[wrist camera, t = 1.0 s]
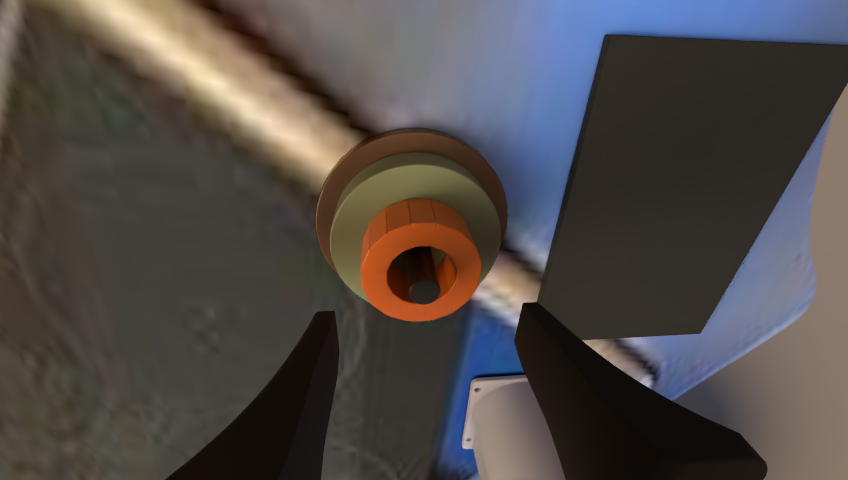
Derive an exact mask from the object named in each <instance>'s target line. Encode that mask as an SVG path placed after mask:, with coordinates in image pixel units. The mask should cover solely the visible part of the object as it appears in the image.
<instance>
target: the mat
mask: <svg viewBox="0 0 848 480" xmlns="http://www.w3.org/2000/svg"><path fill="white" fill-rule="evenodd" d="M847 83H848V45H829V44H807V43H785V42H762V41H740V40H718V39H696V38H674V37H652V36H629V35H605V38H604V42H603V46H602V50H601V54H600V58H599V61H598V65H597V69H596V73H595V77H594V81H593V85H592V89H591V93H590V97H589V101H588V105H587V109H586V112H585V116H584V120H583V124H582V128H581V132H580V136H579V140H578V144H577V148H576V152H575V156H574V160H573V163H572V167H571V171H570V175H569V179H568V183H567V187H566V191H565V195H564V199H563V203H562V207H561V211H560V214H559V218H558V222H557V226H556V230H555V234H554V238H553V242H552V246H551V250H550V254H549V258H548V262H547V265H546V269H545V273H544V277H543V281H542V285H541V289H540V293H539V297H538V301H537V302H538V303H539V304H541V305H542V306H543V307H544V308H545V309H546V310H547V311H549V312H550V313H551V314H552V315H553V316H554V317H555V318H556V319H558V320H559V321H560V322H561V323H562V324H563V325H564V326H565V327H567V328H568V329H569V330H570V331H571V332H572V333H573V334H575V335H576V336H577V337H578V338H579V339H581V340H592V339H610V338H629V337H647V336H665V335H684V334H700V333H701V332H702V330H703V328H704V327H705V325H706V323H707V321H708V320H709V318H710V316H711V315H712V313H713V311H714V310H715V308H716V306H717V304H718V303H719V301H720V299H721V298H722V296H723V294H724V292H725V291H726V289H727V287H728V286H729V284H730V282H731V281H732V279H733V277H734V275H735V274H736V272H737V270H738V269H739V267H740V265H741V264H742V262H743V260H744V258H745V257H746V255H747V253H748V252H749V250H750V248H751V247H752V245H753V243H754V241H755V240H756V238H757V236H758V235H759V233H760V231H761V230H762V228H763V226H764V224H765V223H766V221H767V219H768V218H769V216H770V214H771V213H772V211H773V209H774V207H775V206H776V204H777V202H778V201H779V199H780V197H781V196H782V194H783V192H784V190H785V189H786V187H787V185H788V184H789V182H790V180H791V178H792V177H793V175H794V173H795V172H796V170H797V168H798V167H799V165H800V163H801V161H802V160H803V158H804V156H805V155H806V153H807V151H808V150H809V148H810V146H811V144H812V143H813V141H814V139H815V138H816V136H817V134H818V133H819V131H820V129H821V127H822V126H823V124H824V122H825V121H826V119H827V117H828V116H829V114H830V112H831V110H832V109H833V107H834V105H835V104H836V102H837V100H838V98H839V97H840V95H841V93H842V92H843V90H844V88H845V86H846V85H847Z"/></svg>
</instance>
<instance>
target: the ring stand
mask: <svg viewBox="0 0 848 480" xmlns="http://www.w3.org/2000/svg"><path fill="white" fill-rule="evenodd" d="M408 199H430V200H431V199H432V200H435V201H437V202H440V203H442V204H445V205H448V206H449V207H451V208H453V209H454V210H455V211H456V212H457V213H458V214H459V215H460V216H461V217H462V218H463V219H464V221H465V223H466V225H467V227H468V229H469V232H470V234H471V236H472V238H473V241H474V243H475V245H476V248H477V250H478V253H479V256H480V259H481V262H482V269H481V276H480V282H479V284H480V283H481V281H482V280H483V279H484V278H485V277H486V275H487V274H488V273H489V271H490V269H491V268H492V266H493V264H494V262H495V259H496V257H497V254H498V250H499V248H500V246H501V244H502V241H503V239H504V235H505V231H506V226H507V217H508V214H507V202H506V197H505V193H504V190H503V187H502V184H501V182H500V180H499V178H498V176H497V174H496V173H495V171H494V170H493V169H492V167H491V166H490V164H489V163H488V162H487V161H486V159H485V158H484V157H483V156H482V155H481V154H480V153H479V152H478V151H476V150H475V149H474V148H472V147H471V146H470V145H468V144H467V143H465V142H463V141H461V140H460V139H458V138H456V137H454V136H451V135H448V134H445V133H443V132H438V131H434V130H429V129H416V128H414V129H400V130H395V131H389V132H386V133H383V134H380V135H377V136H374V137H372V138H370V139H368V140H366V141H364V142H362V143H360V144H359V145H357V146H356V147H354V148H353V149H351V150H350V151H349V152H348V153H347V154H346V155H345V156H343V157H342V158H341V159H340V160H339V162H338V163H337V164H336V165H335V166H334V168H333V169H332V170H331V172H330V174H329V175H328V177H327V179H326V181H325V183H324V185H323V188H322V190H321V193H320V195H319V199H318V203H317V207H316V218H315V221H316V232H317V237H318V242H319V244H320V247H321V250H322V252H323V254H324V256H325V258H326V260H327V261H328V263H329V264H330V266H331V267H332V268H333V270H334V271H335V272H336V273H337V274H338V275H339V276H340V277H341V278H342V280H343V281H344V282H345V284H346V285H347V286H348V287H349V288H350V289H351V290H352V291H353V292H355V293H356V294H357V295H358V296H360V297H361V298H363V299H364V300H366V301H368V302H370V301H369V299H368V297H367V296H366V294H365V292H364V291H363V289H362V286H361V271H360V268H361V256H362V245H363V238H364V236H365V233H366V231H367V229H368V226H369V224H370V223H371V221H372V220H373V219H374V218H375V217H376V216H377V215H378V214H379V213H380V212H382V211H383V210H384V209H385V208H387V207H388V206H391V205H393V204H396V203H398V202H401V201H403V200H408ZM445 255H446V253H445V252H444V251H443V250H440V249H437V248H434V247H431V246H418V247H414V248H411V249H408V250H406V251H403V252H402V253H400V254H399V255H398V256H397V257H396V258H395V259H393V260H392V262H391V263H392V264H393V265H395V266H396V267H397V268H398V269H400V270H402V271H405V272H406V273H407V282H408V291H409V296H410V298H411V300H412V301H413V302H415V303H417V304H421V305H426V304H430V303H432V302H434V301H436V300H437V299H438V297H439V295H440V292H441V289H440V284H439V280H438V276H437V272H436V266H437V265H438V264H440V263H441V262H442V260H443V259H444V257H445ZM370 303H371V302H370Z"/></svg>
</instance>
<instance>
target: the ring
mask: <svg viewBox="0 0 848 480" xmlns="http://www.w3.org/2000/svg"><path fill="white" fill-rule="evenodd" d="M418 246H431V247H434V248H437V249H440V250H443V251H444V252H445V253H446V255H445V257H444V259H443V260H442V262H441V263H440V264H438V265H437V266H436V272H437V276H438V280H439V284H440V289H441V292H440V295H439V297H438V299H437V300H436V301H434V302H432V303H430V304H426V305H421V304H417V303H415V302H413V301H412V300H411V298H410V296H409V291H408V282H407V273H406V272H405V271H402V270H400V269H398V268H397V267H396V266H395V265H393V264H392V263H391V262H392V260H393V259H395V258H396V257H397V256H398V255H399V254H400V253H402V252H403V251H406V250H408V249H411V248H414V247H418ZM481 269H482V262H481V259H480V256H479V253H478V250H477V248H476V245H475V243H474V241H473V238H472V236H471V234H470V232H469V229H468V227H467V225H466V223H465V221H464V219H463V218H462V217H461V216H460V215H459V214H458V213H457V212H456V211H455V210H454V209H453V208H451V207H449V206H448V205H445V204H442V203H440V202H437V201H435V200H432V199H431V200H430V199H408V200H403V201H401V202H398V203H396V204H393V205H391V206H388V207H387V208H385V209H384V210H383V211H382V212H380V213H379V214H378V215H377V216H376V217H375V218H374V219H373V220H372V221H371V223H370V224H369V226H368V229H367V231H366V233H365V236H364V238H363V245H362V256H361V268H360V271H361V286H362V289H363V291H364V292H365V294H366V296H367V297H368V299H369V301H370V302H371V304H372V305H373V306H374V307H376V308H377V309H379V310H380V311H382V312H383V313H385V314H386V315H387V316H391V317H394V318H398V319H402V320H405V321H409V320H410V321H430V320H435V319H437V318H440V317H443V316H446V315H449V314H451V313H453V312H454V311H456V310H457V309H458V308H460V307H461V306H462V305H464V304H465V303H466V302H467V301H468V300H470V298H471V296H472V295H473V293H474V292H475V290H476V289H477V287H478V285H479V282H480V276H481Z"/></svg>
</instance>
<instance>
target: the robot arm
mask: <svg viewBox="0 0 848 480" xmlns="http://www.w3.org/2000/svg"><path fill="white" fill-rule="evenodd" d="M514 342H515V345H516V349H517V352H518V356H519V359H520V362H521V365H522V368H523V370H524V372H525V375H513V376H498V377H482V378H475V379H473V380H472V382H471V386H470V393H469V399H468V405H467V412H466V418H465V424H464V431H463V437H462V447H463V448H464V449H473V450H474V454H475V459H476V463H477V468H478V472H479V477H480V480H763V479H764V478H765V476H766V473H767V465H766V462H765V461H764V460H763V459H762V458H761V457H760V456H759V454H758V453H757V452H756V451H755V450H754V449H753V448H752V447H751V446H750V444H748V442H747V441H746V440H745V439H744V438H743V437H742V436H741V434H740V433H737V432H735V431H733V430H731V429H729V428H727V427H724V426H722V425H720V424H718V423H715V422H713V421H711V420H709V419H707V418H704V417H702V416H700V415H698V414H696V413H694V412H692V411H690V410H688V409H686V408H684V407H682V406H680V405H678V404H676V403H675V402H673V401H671V400H669V399H667V398H665V397H664V396H662V395H660V394H658V393H657V392H655V391H653V390H652V389H650V388H648V387H646V386H645V385H643V384H641V383H640V382H638V381H637V380H635V379H634V378H632V377H630V376H629V375H628V374H626V373H625V372H623V371H622V370H620V369H619V368H617V367H616V366H614V365H613V364H611V363H610V362H609V361H607V360H606V359H605V358H603V357H602V356H601V355H599V354H598V353H597V352H596V351H594V350H593V349H592V348H590V347H589V346H588V345H587V344H585V343H584V342H583V341H582V340H581V339H579V338H578V337H577V336H576V335H575V334H573V333H572V332H571V331H570V330H569V329H568V328H567V327H565V326H564V325H563V324H562V323H561V322H560V321H559V320H558V319H556V318H555V317H554V316H553V315H552V314H551V313H550V312H549V311H547V310H546V309H545V308H544V307H543V306H542V305H541V304H539V303H538V302H534V303H523V305H522V310H521V314H520V318H519V323H518V327H517V331H516V336H515V340H514ZM338 362H339V343H338V335H337V326H336V318H335V311H322V312H317V313H316V314H315V315H314V317H313V319H312V321H311V322H310V324H309V326H308V328H307V329H306V331H305V333H304V334H303V336H302V337H301V339H300V341H299V342H298V344H297V345H296V346H295V348H294V349H293V351H292V352H291V354H290V355H289V357H288V358H287V360H286V361H285V362H284V364H283V365H282V366H281V367H280V369H279V370H278V371H277V373H276V374H275V375H274V377H273V378H272V379H271V380H270V382H269V383H268V384H267V385H266V386H265V388H264V389H263V390H262V391H261V392H260V393H259V394H258V396H257V397H256V398H255V399H254V400H253V401H252V402H251V403H250V404H249V405H248V406H247V407H246V408H245V410H244V411H243V412H242V413H241V414H240V415H239V416H238V417H237V418H236V419H235V420H234V421H233V422H232V423H231V424H230V425H229V426H228V427H227V428H226V429H224V430H223V431H222V432H221V433H220V434H219V435H218V436H217V437H216V438H214V439H213V440H212V441H211V442H210V443H209V444H208V445H207V446H206V447H204V448H203V449H202V450H201V451H200V452H199V453H198V454H196V455H195V456H194V457H193V458H192V459H190V460H189V461H188V462H187V463H185V464H184V465H183V466H182V467H180V468H179V469H178V470H177V471H175V472H174V473H173V474H171V475H170V476H169V477H168V478H166V479H165V480H321V471H322V461H323V452H324V445H325V438H326V433H327V427H328V422H329V417H330V412H331V407H332V402H333V397H334V391H335V386H336V381H337V374H338Z"/></svg>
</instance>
